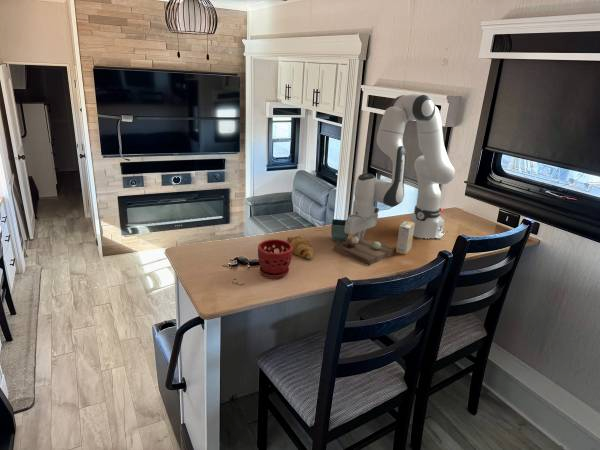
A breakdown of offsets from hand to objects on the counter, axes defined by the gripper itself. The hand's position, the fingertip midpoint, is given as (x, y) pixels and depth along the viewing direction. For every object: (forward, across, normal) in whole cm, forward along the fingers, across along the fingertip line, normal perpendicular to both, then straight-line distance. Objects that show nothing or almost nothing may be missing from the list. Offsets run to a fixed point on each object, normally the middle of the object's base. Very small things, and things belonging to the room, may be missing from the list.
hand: (359, 239), depth 189 cm
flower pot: (+4, -1, +11) cm, 12 cm away
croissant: (+4, -25, +14) cm, 29 cm away
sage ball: (0, -1, -10) cm, 10 cm away
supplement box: (+4, +12, -16) cm, 21 cm away
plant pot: (+4, -48, +5) cm, 48 cm away
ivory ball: (0, -4, 0) cm, 4 cm away
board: (+4, -4, -5) cm, 7 cm away
